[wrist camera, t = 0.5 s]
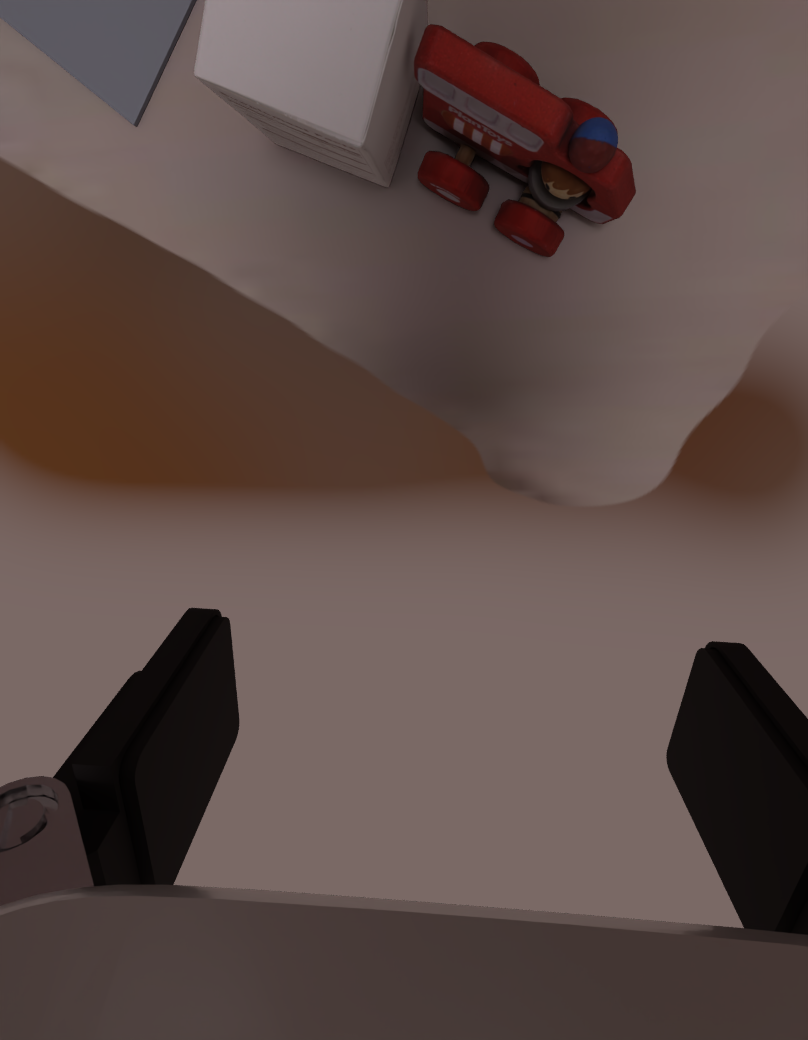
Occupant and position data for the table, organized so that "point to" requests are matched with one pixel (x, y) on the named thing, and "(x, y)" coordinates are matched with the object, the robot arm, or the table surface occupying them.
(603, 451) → the table surface
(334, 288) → the table surface
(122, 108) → the card
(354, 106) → the supplement box
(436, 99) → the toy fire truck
